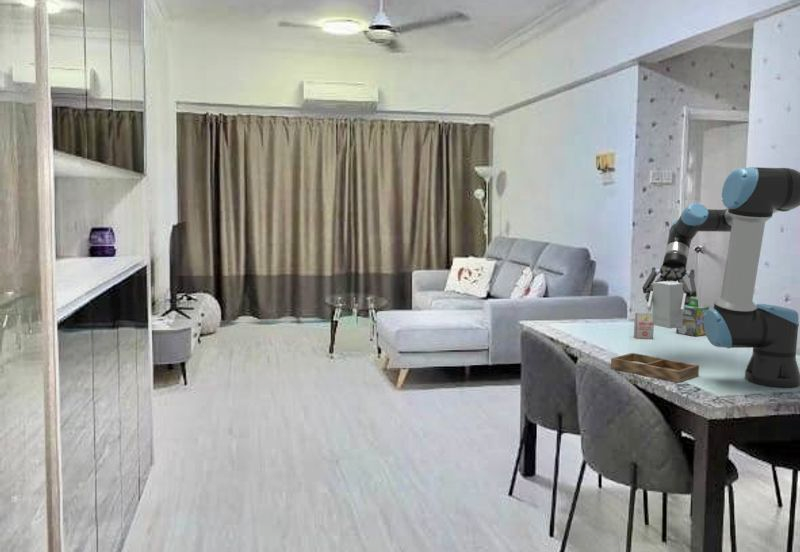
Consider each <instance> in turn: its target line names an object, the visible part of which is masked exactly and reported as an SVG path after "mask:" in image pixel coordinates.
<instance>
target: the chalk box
mask: <svg viewBox="0 0 800 552" xmlns="http://www.w3.org/2000/svg"><path fill="white" fill-rule="evenodd" d="M691 302H694V304H693V303H691ZM708 309H710V306H707V305H699V300H698V299H697V298H693V297H690V302H689V305H685V310H684V314H683V327H682V328H675V329H676V330H675V331H676V333H675V334H679V335H680V334H681V335H685V336H689V337H701V336H704V335H706V333H705V330H704V323H703V320H704V314H705V313H706V311H707V310H708Z"/></svg>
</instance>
